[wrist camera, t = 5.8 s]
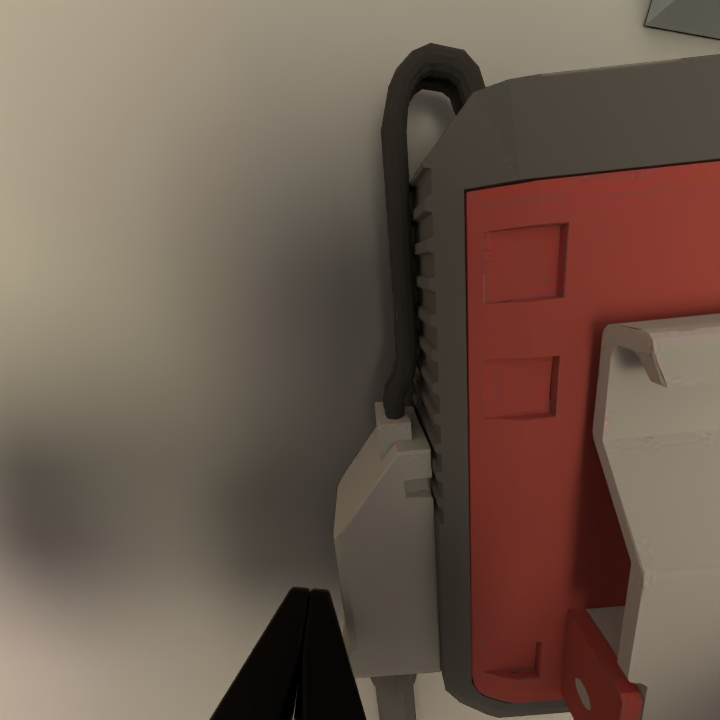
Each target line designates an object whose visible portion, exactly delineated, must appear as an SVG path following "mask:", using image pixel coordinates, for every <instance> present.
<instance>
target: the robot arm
mask: <svg viewBox="0 0 720 720" xmlns="http://www.w3.org/2000/svg"><path fill="white" fill-rule="evenodd" d="M296 694H297V695H296ZM295 701H296V703H295ZM294 708H295V712H294ZM293 714H294V720H366V716H365V713H364V709H363V706H362V702H361V699H360V695H359V692H358V688H357V685H356V682H355V678H354V675H353V671H352V668H351V664H350V661H349V657H348V654H347V650H346V647H345V643H344V640H343V636H342V633H341V630H340V626H339V623H338V619H337V616H336V612H335V609H334V605H333V602H332V598H331V595H330V592H329V591H328V590H326V589H315V588H314V589H312V590H311V591H310V590H309V589H308V588H304V587H292V588H291V589H290V590H289V592H288V594H287V595H286V597H285V598H284V600H283V602H282V603H281V605H280V607H279V608H278V610H277V611H276V613H275V615H274V616H273V618H272V619H271V621H270V623H269V624H268V626H267V628H266V629H265V631H264V632H263V634H262V636H261V637H260V639H259V640H258V642H257V644H256V645H255V647H254V649H253V650H252V652H251V653H250V655H249V657H248V658H247V660H246V661H245V663H244V665H243V666H242V668H241V670H240V671H239V673H238V674H237V676H236V678H235V679H234V681H233V682H232V684H231V686H230V687H229V689H228V691H227V692H226V694H225V695H224V697H223V699H222V700H221V702H220V703H219V705H218V707H217V708H216V710H215V712H214V713H213V715H212V716H211V718H210V720H293Z"/></svg>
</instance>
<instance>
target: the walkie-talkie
mask: <svg viewBox="0 0 720 720" xmlns="http://www.w3.org/2000/svg"><path fill="white" fill-rule="evenodd" d="M422 89H425V90H431V91H437V92H442V93H443V94H445V95H446V96H447V97H448V98H450V101H451V104H452V107H453V110H454V112H455V115H456V117H455V118H454V120H453V121H452V123H451V124H450V125H449V127H448V128H447V130H446V131H445V132H444V134H443V135H442V137H441V138H440V139H439V141H438V142H437V144H436V145H435V146H434V148H433V149H432V151H431V152H430V153H429V155H428V156H427V158H426V159H425V160H424V162H423V163H422V165H421V166H420V168H419V169H418V171H417V173H416V174H415V176H414V177H413V179H412V180H411V182H410V183H409V169H408V151H407V133H406V130H407V114H408V106H409V103H410V101H411V99H412V98H413V96H414V95H415V94H416V93H418V92H419V91H420V90H422ZM381 139H382V153H383V167H384V180H385V194H386V208H387V221H388V235H389V249H390V262H391V276H392V290H393V303H394V325H395V350H396V357H395V363H394V366H393V370H392V372H391V374H390V376H389V378H388V381H387V383H386V385H385V390H384V397H383V402H374V404H375V414H376V425H377V426H376V428H375V429H374V431H373V432H372V433H371V435H370V436H369V438H368V439H367V441H366V442H365V444H364V445H363V447H362V448H361V450H360V451H359V453H358V454H357V456H356V457H355V459H354V460H353V462H352V463H351V464H350V466H349V467H348V469H347V470H346V472H345V473H344V475H343V477H342V479H341V481H340V483H339V485H338V489H337V500H336V512H335V523H334V534H333V538H334V545H335V552H336V559H337V566H338V573H339V580H340V587H341V594H342V601H343V609H344V624H343V640H344V643H345V647H346V650H347V654H348V657H349V661H350V664H351V668H352V671H353V675H354V678H365V677H371V680H372V682H373V684H374V686H376V693H377V701H378V709H379V717H380V720H416V713H415V701H414V689H413V684H414V682H415V678H416V675H417V673H430V672H440V671H441V670H442V675H443V680H444V685H445V689H446V691H447V692H449V693H450V694H451V695H452V696H453V697H454V698H456V699H457V700H458V701H459V702H460V703H463V704H465V705H467V706H469V707H472V708H474V709H476V710H478V711H480V712H483V713H485V714H487V715H491V716H494V717H498V718H502V717H514V716H527V715H539V714H551V713H563V712H571V714H572V716H573V718H574V720H720V54H717V55H708V56H699V57H690V58H681V59H672V60H663V61H654V62H645V63H636V64H627V65H618V66H609V67H600V68H591V69H583V70H574V71H565V72H556V73H547V74H538V75H532V76H526V77H521V78H515V79H509V80H506V81H503V82H500V83H498V84H495V85H492V86H489V87H486V88H485V85H484V81H483V78H482V75H481V72H480V69H479V67H478V65H477V64H476V63H475V62H474V61H473V60H472V58H471V57H470V56H469V55H468V54H467V53H466V52H465V50H462V49H457V48H452V47H447V46H442V45H438V44H433V43H430V44H427V45H425V46H423V47H420V48H418V49H416V50H413V51H412V52H411V53H410V54H409V55H408V56H407V57H406V58H405V59H404V61H403V62H402V63H401V64H400V65H399V66H398V67H397V69H396V71H395V73H394V75H393V78H392V80H391V82H390V85H389V87H388V93H387V99H386V104H385V110H384V116H383V122H382V127H381ZM412 381H413V382H414V384H415V386H416V388H417V393H415V394H413V402H414V404H415V406H416V408H417V411H418V414H417V415H416V413H415V410H414V408H413V407H405V404H404V398H405V396H406V394H407V392H408V390H409V388H410V386H411V384H412Z"/></svg>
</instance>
